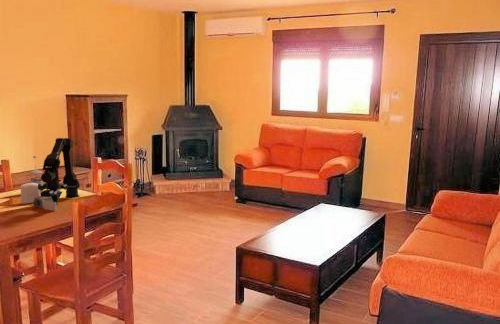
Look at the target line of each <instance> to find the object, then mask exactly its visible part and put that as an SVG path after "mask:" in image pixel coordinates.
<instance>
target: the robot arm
mask: <svg viewBox="0 0 500 324" xmlns="http://www.w3.org/2000/svg"><path fill="white" fill-rule="evenodd" d="M73 147H74V141H73V139H72V138H71V137H58V138H55V143H54V145H53V147H52V150H51V152H50V153H49V154H47V156H46V157H45V159H44V161H43V166H42V171H44V172H43V173H41V180H42V181H43V184H42V183H41V184H38V189H39V190H41V191H42V190H44V191H42V192H41V193H40V196H41V197H51V198H52V200H53V202H56V204H57V202H58V203H59V199H60V198H61V196H62V193H63V191H61V189H62V190H64V191H65V194H66V195H65V198H69V199H74V198H78V197H80V195H79V190H78V189H79V188H81V186H80V185H81V183H80V181H79V179H78V177H77V175H76V174H75V173H74V168H73V160H72V159H73V158H72V152H71V151H72V149H73ZM61 154H62V157H63V158H62V159H63V166H64V177H63V178H62V179H60V176H59V175H60V174H59V173H60V172H59V169H60V166H61V159H60V155H61ZM61 181H62V183H60V182H61Z"/></svg>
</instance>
